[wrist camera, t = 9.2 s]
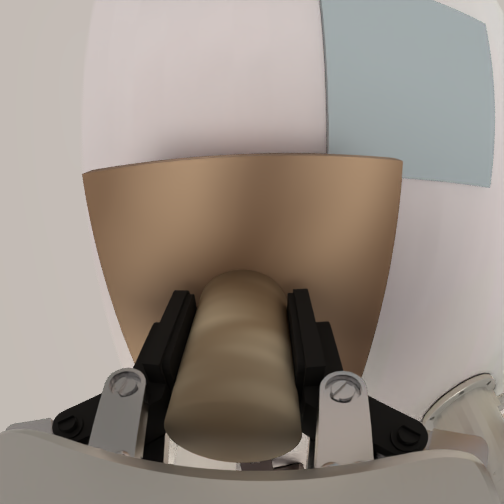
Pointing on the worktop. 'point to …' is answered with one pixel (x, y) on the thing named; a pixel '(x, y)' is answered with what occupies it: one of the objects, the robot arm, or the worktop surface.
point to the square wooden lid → (246, 277)
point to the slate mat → (410, 87)
